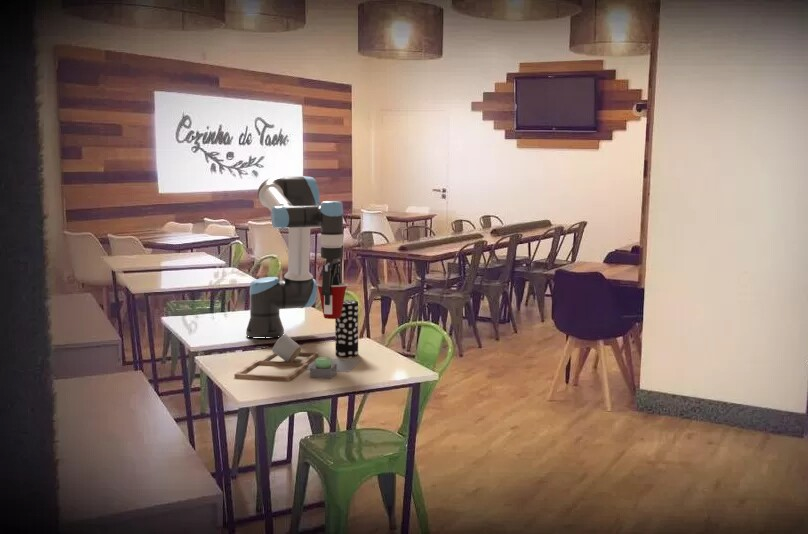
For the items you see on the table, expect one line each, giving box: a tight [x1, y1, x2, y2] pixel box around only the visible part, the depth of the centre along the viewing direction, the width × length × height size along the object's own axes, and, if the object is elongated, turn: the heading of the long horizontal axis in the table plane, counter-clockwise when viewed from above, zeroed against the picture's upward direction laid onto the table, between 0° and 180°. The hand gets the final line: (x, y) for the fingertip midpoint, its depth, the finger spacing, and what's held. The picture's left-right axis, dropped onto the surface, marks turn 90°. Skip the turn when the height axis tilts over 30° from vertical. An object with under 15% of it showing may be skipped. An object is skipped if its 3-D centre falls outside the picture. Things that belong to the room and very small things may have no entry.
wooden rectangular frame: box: [234, 351, 319, 382], centre depth 271 cm, size 34×19×2 cm, turn 169°
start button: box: [315, 356, 332, 368], centre depth 259 cm, size 5×5×2 cm
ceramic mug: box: [271, 333, 302, 362], centre depth 279 cm, size 11×8×8 cm
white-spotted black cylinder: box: [334, 299, 359, 359], centre depth 287 cm, size 8×8×20 cm
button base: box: [309, 364, 337, 380], centre depth 260 cm, size 7×7×4 cm
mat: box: [303, 358, 361, 373], centre depth 274 cm, size 16×16×1 cm
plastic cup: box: [316, 283, 349, 320], centre depth 271 cm, size 11×11×12 cm
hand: (332, 311), depth 271 cm, fingers closed on plastic cup, 9 cm apart
